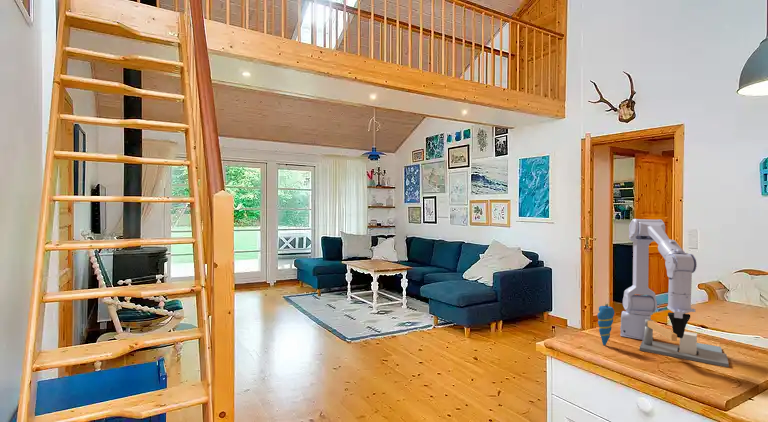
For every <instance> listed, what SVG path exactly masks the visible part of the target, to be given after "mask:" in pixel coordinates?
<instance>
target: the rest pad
mask: <svg viewBox="0 0 768 422" xmlns="http://www.w3.org/2000/svg"><path fill="white" fill-rule="evenodd" d="M697 349H702V350H707V351H713V352H719V353H723V351H722V350H723V349H722V347H721V346H718V345H714V344H712V345H711V344H708V343H707V344H706V343H700V342H697Z"/></svg>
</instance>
